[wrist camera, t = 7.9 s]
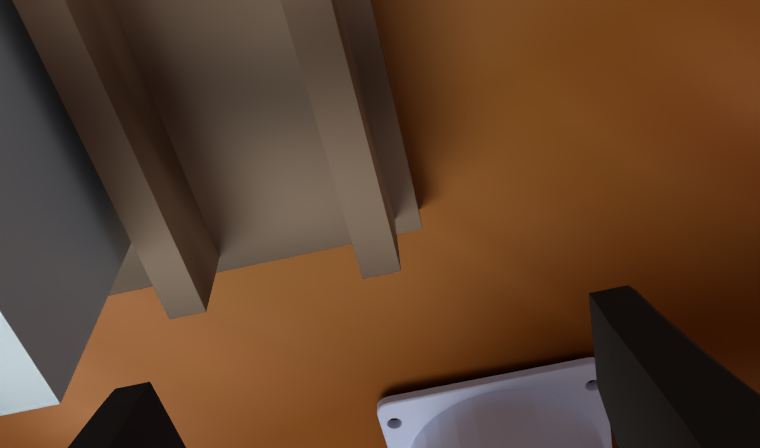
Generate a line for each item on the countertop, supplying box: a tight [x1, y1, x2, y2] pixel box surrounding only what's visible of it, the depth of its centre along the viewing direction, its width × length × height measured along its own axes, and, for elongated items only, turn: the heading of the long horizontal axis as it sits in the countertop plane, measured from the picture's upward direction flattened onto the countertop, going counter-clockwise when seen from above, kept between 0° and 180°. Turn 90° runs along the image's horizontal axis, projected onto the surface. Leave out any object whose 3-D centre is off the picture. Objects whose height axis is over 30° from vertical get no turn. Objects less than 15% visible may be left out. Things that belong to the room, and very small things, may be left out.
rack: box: [12, 0, 422, 319], centre depth 18 cm, size 12×18×4 cm, turn 103°
